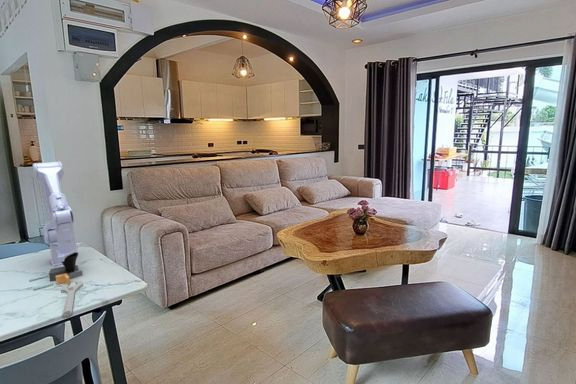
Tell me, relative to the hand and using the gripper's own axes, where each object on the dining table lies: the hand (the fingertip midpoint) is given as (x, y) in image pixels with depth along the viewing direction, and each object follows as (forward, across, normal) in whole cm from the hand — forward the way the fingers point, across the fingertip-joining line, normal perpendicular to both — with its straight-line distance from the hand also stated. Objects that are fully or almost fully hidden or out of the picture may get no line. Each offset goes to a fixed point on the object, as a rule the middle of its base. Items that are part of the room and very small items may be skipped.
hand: (71, 271), depth 134 cm
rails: (+1, +5, -8) cm, 10 cm away
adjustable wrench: (+2, +22, +7) cm, 23 cm away
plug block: (+2, +2, -4) cm, 5 cm away
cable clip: (+1, 0, 0) cm, 1 cm away
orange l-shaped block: (+1, +8, 0) cm, 8 cm away
